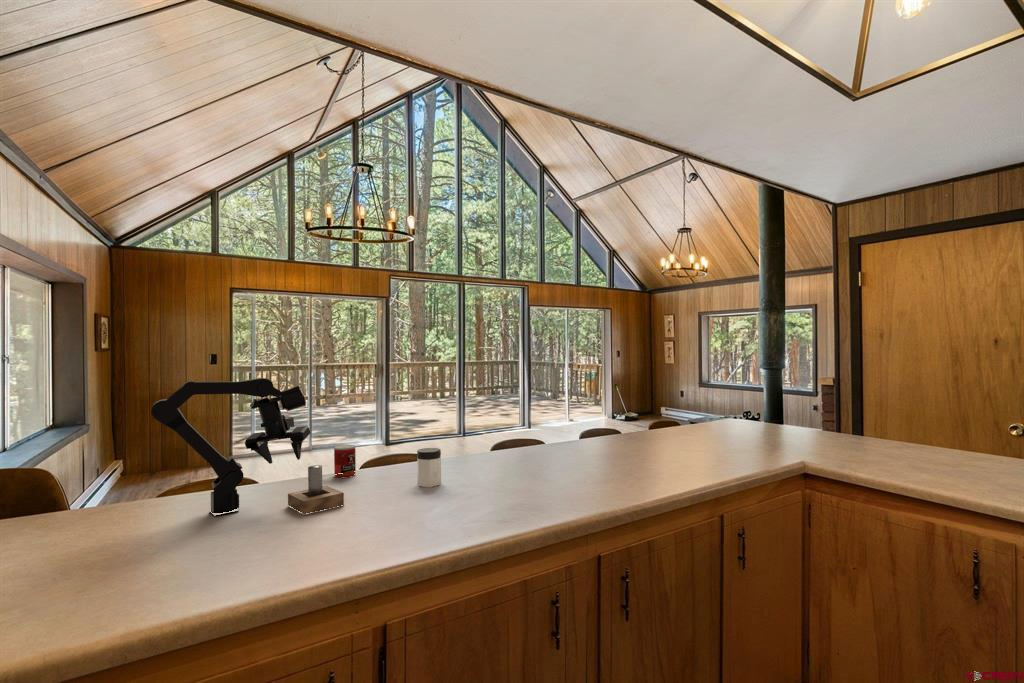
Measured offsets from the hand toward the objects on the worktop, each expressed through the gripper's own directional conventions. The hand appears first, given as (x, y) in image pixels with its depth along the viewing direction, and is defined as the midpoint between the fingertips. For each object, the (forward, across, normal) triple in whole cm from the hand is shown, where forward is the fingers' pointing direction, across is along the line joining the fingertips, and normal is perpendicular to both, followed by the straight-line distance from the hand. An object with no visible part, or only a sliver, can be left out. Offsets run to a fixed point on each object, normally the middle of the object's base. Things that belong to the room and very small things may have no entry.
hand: (285, 461), depth 159 cm
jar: (+22, -41, -12) cm, 48 cm away
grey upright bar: (+11, -12, +11) cm, 19 cm away
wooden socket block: (+11, -12, +11) cm, 19 cm away
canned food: (+22, -6, -26) cm, 34 cm away
